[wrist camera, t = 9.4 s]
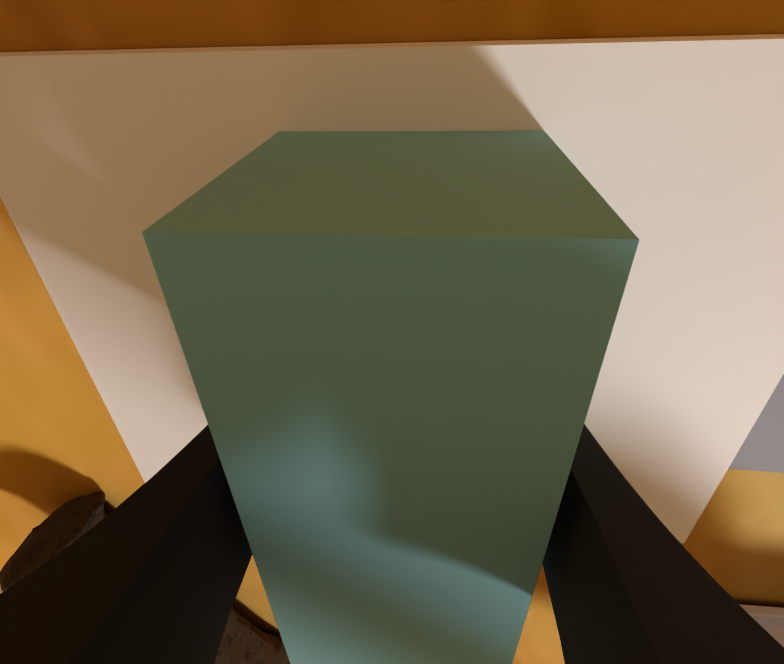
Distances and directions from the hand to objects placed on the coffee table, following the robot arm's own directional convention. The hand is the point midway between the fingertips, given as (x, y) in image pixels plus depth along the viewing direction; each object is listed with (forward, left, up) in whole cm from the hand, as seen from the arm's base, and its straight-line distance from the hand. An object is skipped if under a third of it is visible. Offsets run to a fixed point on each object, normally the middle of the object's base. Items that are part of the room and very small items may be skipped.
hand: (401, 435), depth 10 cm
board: (0, 0, -4) cm, 4 cm away
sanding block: (0, 0, -2) cm, 2 cm away
